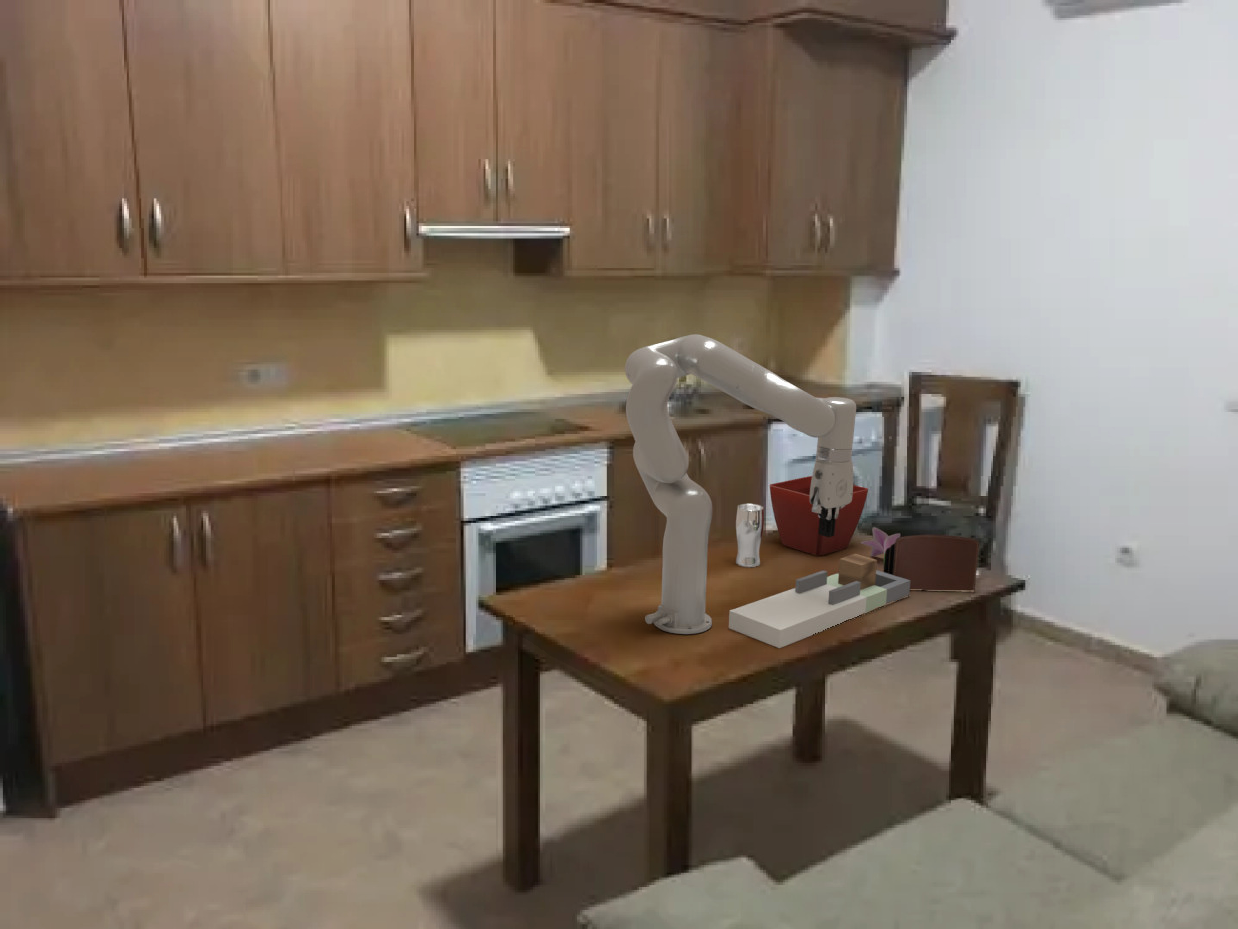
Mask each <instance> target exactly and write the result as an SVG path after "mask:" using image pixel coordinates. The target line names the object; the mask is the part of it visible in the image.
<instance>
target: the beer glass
mask: <svg viewBox="0 0 1238 929" xmlns="http://www.w3.org/2000/svg"><path fill="white" fill-rule="evenodd" d="M764 510H765V507H764V506H762V505H761V504H757V503H742V504H738V505H737V511H736V520H735V530H736V532H735V533H736V540H737V555H736V559H735V564H736V565H737V564H738V566H740V567H743V568H757V567H758V566H760V564H761V561H760V547H761V541H762V537H763V533H764V525H765V522H764V521H765V520H764V519H765V514H764V512H765V511H764ZM756 566H757V567H756Z"/></svg>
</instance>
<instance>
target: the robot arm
mask: <svg viewBox="0 0 1238 929" xmlns="http://www.w3.org/2000/svg"><path fill="white" fill-rule="evenodd" d="M624 371H625V372H624V373H625V375H626V379H627V380H628V382H629V383H631V387H630V390H629V392H628V396H627V399H626V404H625V415H626V419H627V420H626V421H627V423H628V424H627V425H628V426H629V428H630V429H629V430H630V431H631V434H632V436H633V439H634V441H635V442H634V445H633V448H632V456H633V461H634V464H635V466H636V469H637V471H638V473H639V475H640V478H641V479H642V482H643V483H644V486H645V488H646V490H647V492H648V494H649V496H650V498H651V500H652V502H653V504H654V506H655V507H656V508H657V509H658V510H659V511H660V512H661V513H662V514H663V515H664V516H665V517H666V524H665V530H664V534H663V540H662V541H663V543H662V571H661V572H662V573H661V576H662V577H661V578H662V579H661V601H660V602H661V603H660V604H659V605H657V610H656V611H655V613H650V614H646V615H645V617H644V619H645V620H644V621H645V622H646V624H648V625H651V624H654V626H656V627H657V628H658V629H660V631H663V632H666V633H671V634H679V635H693V634H701V633H703V632H706V631H707V630H709V629H710V628H711V627H712V626H713V624H712V623H713V620H712V617H711V616H710V615H709V614H707V613H706V595H707V572H708V571H707V570H708V545H709V544H708V543H709V535H710V534H709V533H710V528H711V524H712V518H713V502H712V500H711V497H710V495H709V494H708V492H707V491H706V490H705V488H703V487H702V486H701V485H699V483H696V482H695V481H694V480H692V479H691V478H690V477H689V475H688V473H687V471H688V470H689V457H688V453H687V451H686V449H685V446H684V445H683V443H682V441H681V439H680V437H679V435H678V432H677V430H676V428H675V426H674V424H673V421H672V419H671V416H670V413H669V409H668V407H669V406H668V405H669V404H668V402H669V399H670V397H671V394H672V393H673V391H674V389H675V387H676V386H677V383H678V379H679V378H683V377H686V376H689V375H692V376H694V377H697V378H698V379H700V380H702V381H703V382H705V383H707V384H709V385H711V386H712V387H714V388H716V389H718V390H720V391H722V392H723V393H725V394H727V395H728V396H730V397H733V398H734V399H736V400H738V401H739V402H741V403H743V404H745V405H747V406H749V407H751V408H753V409H755V410H758V411H761V412H763V413H766V414H769V415H771V416H773V417H774V418H777V419H778V420H780V421H783V422H784V423H785V424H786V425H787V426H788V427H790V428H792V429H793V430H796V431H798V432H800V433H803V434H804V435H806V436H808V437H810V438H814V439H815V438H816V439H817V444H816V445H817V446H816V454H815V455H816V456H815V461H814V462H815V463H814V467H813V471H812V475H811V476H812V480H811V487H810V503H811V504H812V505H813V506H812V512H815V513H818V517H820V520H819V531H818V533H819V535H822V536H826V537H832V536H834V534H835V524H836V518H837V517H838V513H839V510H840V509H841V508H843V507H844V506H845V505H847V504H849V503H850V502H851V501H852V495H853V485H854V463H853V460H852V454H853V445H854V444H853V443H854V435H855V425H856V424H855V423H856V415H857V414H856V413H857V404H856V402H855V401H854V400H853V399H851V398H847V397H839V396H834V397H833V396H832V397H831V396H830V397H815V396H813V395H812V394H811V393H809V392H806V390H803V389H801V388H800V387H797V386H796V385H794V384H792V383H791V382H788V381H787V380H785V379H783V378H782V377H780V376H779V375H778V374H776V373H774V372H772V371H771V370H770V369H767V368H765V367H764V366H762V365H760V364H759V363H758V362H757V363H756V362H755V361H753V360H751V358H748V357H746V356H745V355H743V354H741V353H739V352H738V351H736V350H734V349H733V348H731V347H729V346H727V345H726V344H724V343H722V342H720V341H718V340H716V339H714V338H712V337H708V336H705V335H702V334H699V333H698V334H688V335H685V336H680V337H677V338H674V339H670V340H665V341H663V342H659V343H655V344H650V345H647V346H643V347H641V348H638V349H635V351H633V352H632V353H631V354H629V356H628V357H627V359H626V361H625V366H624Z"/></svg>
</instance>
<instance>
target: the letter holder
mask: <svg viewBox="0 0 1238 929" xmlns="http://www.w3.org/2000/svg"><path fill="white" fill-rule="evenodd" d="M979 550H980V543H979V541H978V539H975V538H971V537H966V536H958V535H957V536H956V535H949V534H917V535H916V534H915V535H907V536H900V537H899V538H897V539H896V541H895V543H894V544H892V545H891V546H890V547H889V548H887V549H886V551H885V559H884V558H883V571H882V572H884V573H888V574H891V575H894V576H897V577H901V578H904V579H907V580H910V589H922V590H975V591H976V581H977V568H978V560H979V559H978V558H979V552H980V551H979Z"/></svg>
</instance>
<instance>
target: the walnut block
mask: <svg viewBox="0 0 1238 929" xmlns="http://www.w3.org/2000/svg"><path fill="white" fill-rule="evenodd" d="M877 565H878V560H877V559H874V558H871V557H868V556H864V555H861V554H857V553H854V554H850V555H847V556H843V557H842V558H839V565H838V573H839V577H838V584H841V585H847V584H849V583H852V582H855V581H858V582H861V587H860V590H862V589H865V588H868V587H870V586H873V585H875V579H876V570H877Z"/></svg>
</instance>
